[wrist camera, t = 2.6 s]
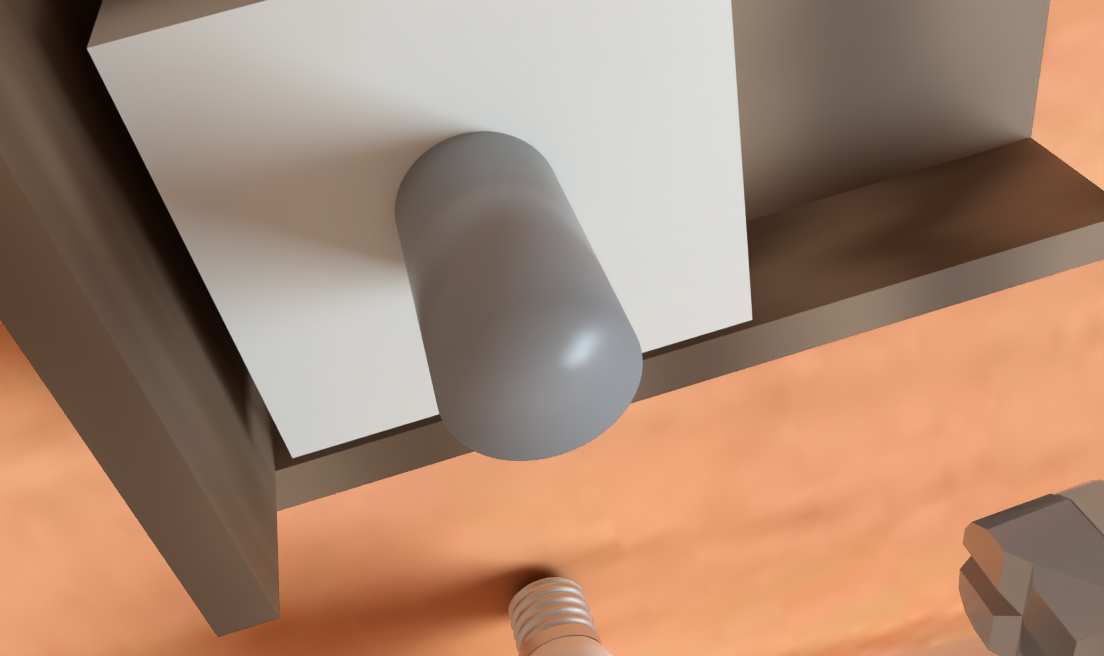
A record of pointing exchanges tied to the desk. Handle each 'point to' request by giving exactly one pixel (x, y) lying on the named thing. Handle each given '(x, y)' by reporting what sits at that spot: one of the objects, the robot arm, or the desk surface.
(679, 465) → the desk surface
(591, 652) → the lightbulb
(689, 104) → the white box with knob
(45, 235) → the bay
